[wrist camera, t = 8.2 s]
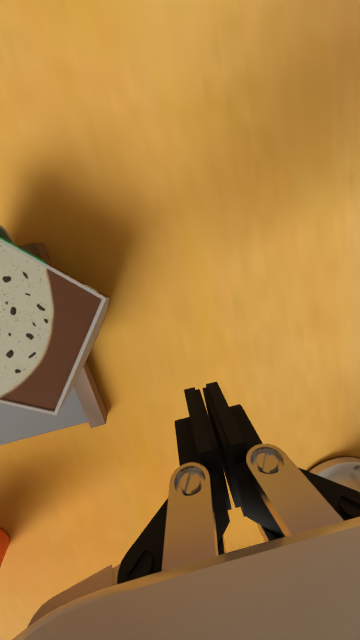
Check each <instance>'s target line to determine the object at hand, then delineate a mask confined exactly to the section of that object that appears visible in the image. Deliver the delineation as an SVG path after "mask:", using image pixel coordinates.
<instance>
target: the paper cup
mask: <svg viewBox="0 0 360 640" xmlns="http://www.w3.org/2000/svg"><path fill="white" fill-rule="evenodd" d="M8 545H9V536H8V534H7V533H6V532H5V531H4V530H3V529H1V528H0V566H1V564H2V561H3V558H4V556H5V553H6V550H7V548H8Z"/></svg>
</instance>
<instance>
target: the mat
mask: <svg viewBox="0 0 360 640" xmlns="http://www.w3.org/2000/svg"><path fill="white" fill-rule="evenodd" d="M85 422H88V420H87V417H86V415H85V412H84V410H83V408H82V405H81V403H80V400H79V398H78V396H77V393H76V391H75V388H74V386H73V388H72V389H71V391H70V393H69V395H68V397H67V399H66V400H65V402H64V404H63V406H62V407H61V409H60V411H59V412H58V414H57V415H56V416H55V415H51V414H47V413H42V412H38V411H33V410H29V409H25V408H20V407H16V406H12V405H7V404H3V403H0V445H2V444H6V443H10V442H14V441H17V440H21V439H25V438H29V437H32V436H36V435H40V434H44V433H48V432H51V431H55V430H59V429H63V428H67V427H70V426H74V425H78V424H82V423H85Z"/></svg>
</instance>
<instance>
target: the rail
mask: <svg viewBox="0 0 360 640" xmlns="http://www.w3.org/2000/svg"><path fill="white" fill-rule="evenodd" d="M20 248H22V249H23V250H25V251H27V252H29V253H31V254H32V255H34V256H36V257H38V258H40V259H41V260H43V261H45V262H47V263H49V264H50V265H51V263H50V261H49V258H48V255H47V253H46V250H45V247H44V245H43V243H34V244H29V245H24V246H20ZM74 388H75V391H76V393H77V396H78V398H79V400H80V403H81V405H82V408H83V410H84V412H85V415H86V417H87V420H88V422H89V424H90V427H91V428H93V427H96V426H100V425H104V424H106V420H107V415H108V414H107V411H106V408H105V406H104V403H103V401H102V398H101V395H100V393H99V390H98V387H97V385H96V382H95V379H94V377H93V374H92V372H91V369H90V366H89V364H88V361H87V360H86V362H85V364H84V366H83V368H82V370H81V372H80V374H79V376H78V378H77V380H76V382H75V384H74Z"/></svg>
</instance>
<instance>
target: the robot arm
mask: <svg viewBox="0 0 360 640" xmlns="http://www.w3.org/2000/svg"><path fill="white" fill-rule="evenodd" d="M184 392H185V397H186V402H187V406H188V411H189V416H190V417H187V418H184V419H180V420H176V421H175V429H176V437H177V446H178V454H179V462H180V467H178V468H177V469H176V470H175V471H174V473H173V474H172V476H171V479H170V485H169V496H168V499H167V500H166V501H165V503H164V504H163V505H162V507H161V508H160V509H159V511H158V512H157V513H156V515H155V516H154V517H153V519H152V520H151V521H150V523H149V524H148V525H147V527H146V528H145V529H144V531H143V532H142V533H141V535H140V536H139V537H138V539H137V540H136V541H135V543H134V544H133V545H132V547H131V548H130V549H129V551H128V552H127V553H126V555H125V557H124V558H123V560H122V562H121V564H119V565H117V566H116V567H114V568H113V567H112V565H110V566H108V567H106V568H104V569H102V570H101V571H99V572H97V573H95V574H94V575H92V576H90V577H88V578H86V579H85V580H83V581H81V582H79V583H77V584H76V585H74V586H72V587H70V588H69V589H67V590H65V591H63V592H61V593H60V594H58V595H56V596H54V597H52V598H51V599H49V600H48V601H47V602H46V603H44V604H43V605H42V606H41V607H40V608H39V610H38V611H37V612H36V613H35V614H34V616H33V618H32V619H31V621H30V623H29V625H28V627H27V628H26V629H25V630H24V631H22V632H21V633H20V634H19V635H17V636H16V637H15V638H14V639H13V640H360V459H358V458H354V457H341V458H335V459H332V460H328V461H326V462H324V463H321V464H319V465H318V466H316V467H314V468H313V469H311V470H310V471H309V472H308V471H306V470H303V469H300V468H298V467H297V466H296V465H295V464H294V463H293V462H292V460H291V459H290V458H289V457H288V456H287V455H286V454H285V452H283V451H282V450H281V449H280V448H278V447H276V446H274V445H271V444H263V443H262V442H261V440H260V438H259V436H258V434H257V433H256V431H255V429H254V427H253V426H252V424H251V422H250V420H249V419H248V417H247V415H246V413H245V411H244V410H243V408H242V406H241V405H240V404H239V405H235V406H231V407H229V406H228V404H227V402H226V400H225V398H224V396H223V394H222V391H221V389H220V387H219V385H218V383H217V382H213V383H209V384H206V388H203V393H204V397H205V402H206V407H207V411H208V414H207V411H206V408H205V405H204V402H203V398H202V395H201V392H200V389H197V390H195V387H193V388H189V389H185V390H184ZM208 416H209V417H208ZM224 473H225V475H224ZM225 476H226V479H227V482H228V485H229V488H230V492H231V495H232V498H233V501H234V504H235V507H236V508H237V507H241V509H242V512H243V515H244V517H245V516H247V517H248V518H250V519H251V520H253V521H255V522H256V523H257V525H258V528H259V531H260V533H261V534H262V536H263V538H264V540H265V543H261V544H257V545H254V546H250V547H247V548H243V549H239V550H236V551H232V552H229V553H226V549H225V540H224V536H223V534H224V532H225V530H226V528H227V526H228V524H229V522H230V520H229V515H228V511H227V510H230V509H232V508H231V504H230V499H229V494H228V489H227V485H226V480H225Z"/></svg>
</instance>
